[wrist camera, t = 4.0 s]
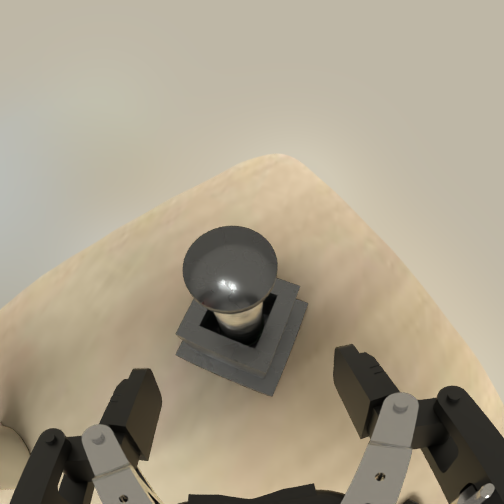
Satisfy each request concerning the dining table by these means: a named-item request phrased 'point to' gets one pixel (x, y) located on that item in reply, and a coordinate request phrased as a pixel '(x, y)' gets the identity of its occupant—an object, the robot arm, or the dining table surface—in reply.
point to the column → (232, 279)
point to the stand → (239, 355)
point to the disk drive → (410, 502)
